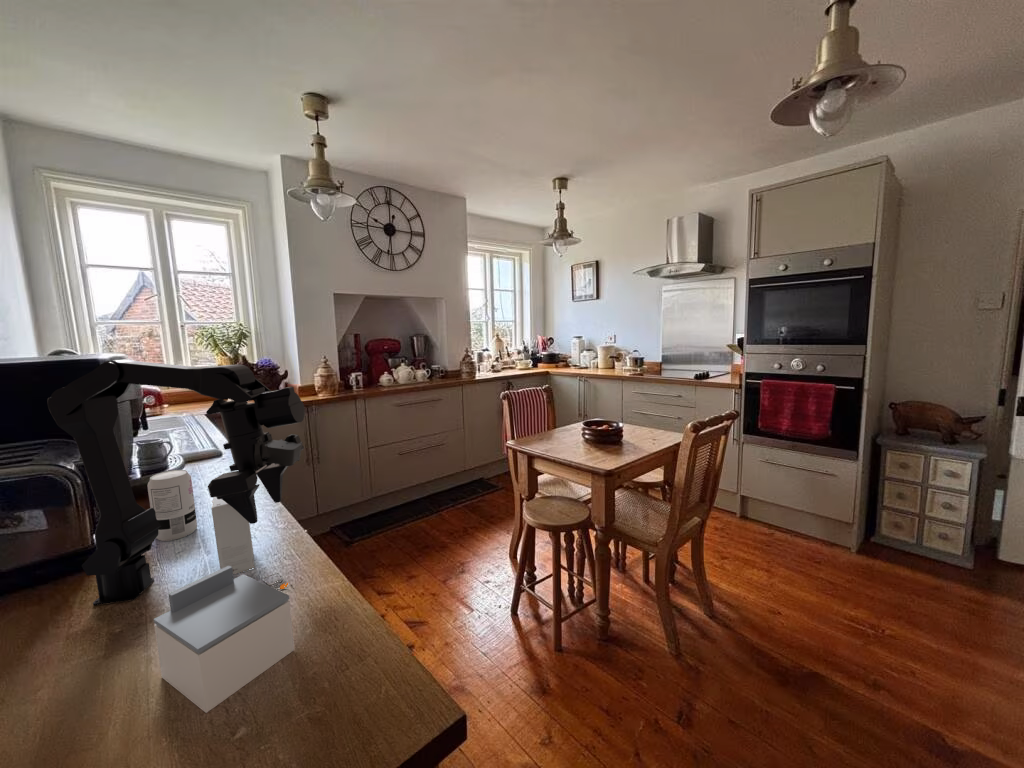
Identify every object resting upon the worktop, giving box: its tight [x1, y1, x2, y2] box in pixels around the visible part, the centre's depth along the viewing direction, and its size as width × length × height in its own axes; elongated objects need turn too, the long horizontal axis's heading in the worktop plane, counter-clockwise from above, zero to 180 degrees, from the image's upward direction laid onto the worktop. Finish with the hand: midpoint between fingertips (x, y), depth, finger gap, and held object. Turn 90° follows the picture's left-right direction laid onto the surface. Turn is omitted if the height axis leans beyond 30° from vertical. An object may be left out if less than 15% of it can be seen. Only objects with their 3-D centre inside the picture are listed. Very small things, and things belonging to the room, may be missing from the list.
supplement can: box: [146, 469, 198, 542], centre depth 101 cm, size 8×8×15 cm
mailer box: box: [153, 600, 295, 714], centre depth 61 cm, size 12×12×8 cm
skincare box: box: [211, 497, 255, 575], centre depth 87 cm, size 8×6×15 cm
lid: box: [152, 566, 290, 654], centre depth 60 cm, size 12×12×3 cm
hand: (266, 512), depth 79 cm, fingers open, 9 cm apart
